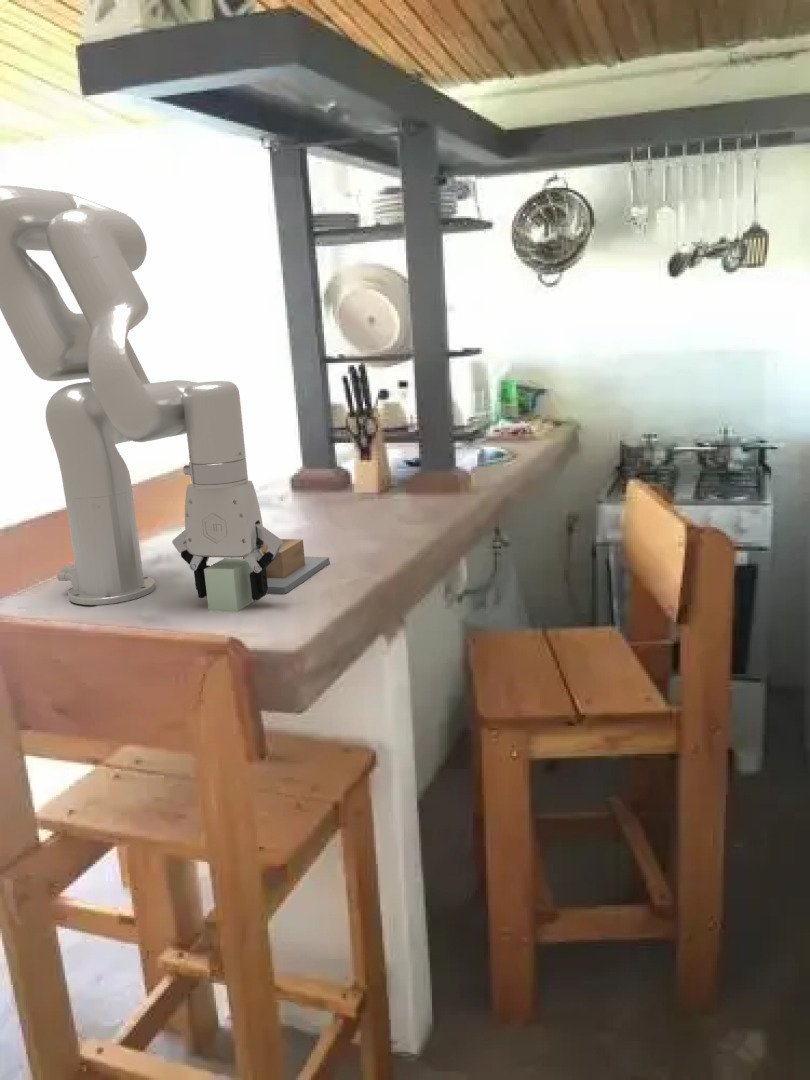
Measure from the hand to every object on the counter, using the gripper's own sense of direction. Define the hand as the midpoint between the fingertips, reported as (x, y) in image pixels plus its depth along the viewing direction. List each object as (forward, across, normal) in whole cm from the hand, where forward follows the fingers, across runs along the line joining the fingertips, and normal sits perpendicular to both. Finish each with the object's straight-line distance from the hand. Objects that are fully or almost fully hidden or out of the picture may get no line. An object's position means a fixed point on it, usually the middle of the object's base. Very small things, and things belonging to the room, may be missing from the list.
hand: (232, 595), depth 132 cm
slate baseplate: (+1, 0, +14) cm, 14 cm away
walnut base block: (+1, 0, +14) cm, 14 cm away
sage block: (+1, 0, 0) cm, 1 cm away
